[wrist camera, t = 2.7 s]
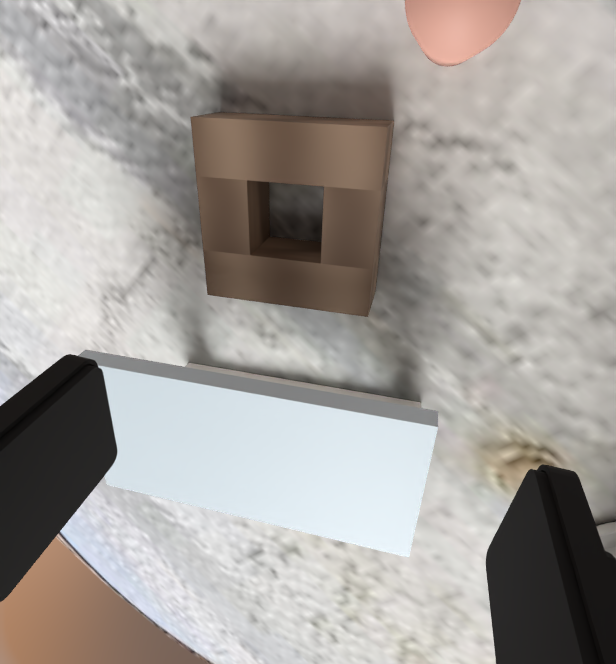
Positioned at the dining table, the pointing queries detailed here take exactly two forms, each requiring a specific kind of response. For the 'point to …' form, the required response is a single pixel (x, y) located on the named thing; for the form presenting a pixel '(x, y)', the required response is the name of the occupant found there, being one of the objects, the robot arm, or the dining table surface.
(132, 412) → the small white step stool
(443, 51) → the peg
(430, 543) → the dining table surface
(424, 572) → the dining table surface
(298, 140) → the socket block
